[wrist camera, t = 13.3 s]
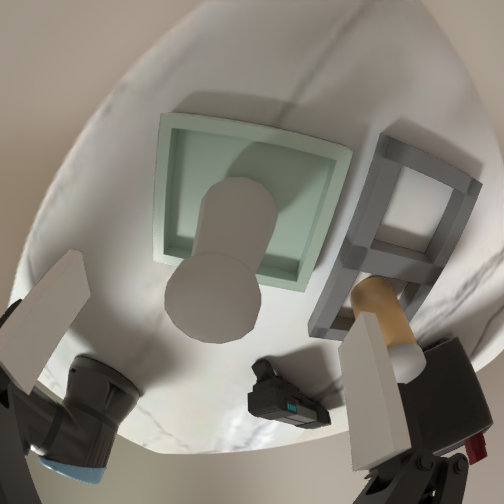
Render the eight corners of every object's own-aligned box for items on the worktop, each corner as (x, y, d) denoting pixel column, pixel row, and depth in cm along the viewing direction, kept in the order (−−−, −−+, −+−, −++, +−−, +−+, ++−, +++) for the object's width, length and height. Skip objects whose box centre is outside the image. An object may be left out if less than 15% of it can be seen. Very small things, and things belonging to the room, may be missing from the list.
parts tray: (161, 248, 26) (153, 261, 24) (171, 111, 19) (160, 113, 17) (302, 277, 26) (304, 292, 24) (346, 146, 19) (353, 151, 17)
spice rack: (307, 323, 29) (313, 403, 21) (380, 133, 18) (452, 165, 10) (388, 333, 30) (408, 402, 21) (471, 176, 19) (540, 226, 10)
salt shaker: (267, 241, 24) (258, 371, 13) (202, 227, 23) (146, 345, 12) (285, 177, 20) (295, 283, 9) (212, 162, 20) (138, 248, 9)
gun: (269, 353, 32) (282, 429, 26) (323, 374, 45) (334, 423, 39) (240, 362, 34) (249, 434, 27) (301, 381, 47) (311, 429, 40)
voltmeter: (369, 407, 41) (380, 501, 24) (354, 369, 34) (370, 500, 17) (446, 377, 36) (471, 467, 19) (454, 328, 29) (500, 447, 12)
